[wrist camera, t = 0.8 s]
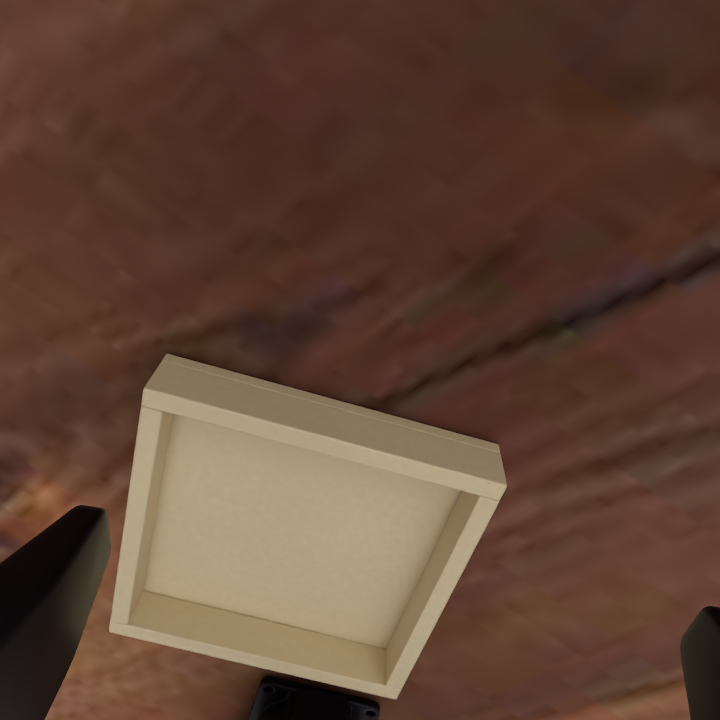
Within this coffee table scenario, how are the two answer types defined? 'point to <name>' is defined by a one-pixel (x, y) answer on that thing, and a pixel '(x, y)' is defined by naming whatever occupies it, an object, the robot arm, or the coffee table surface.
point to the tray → (294, 527)
